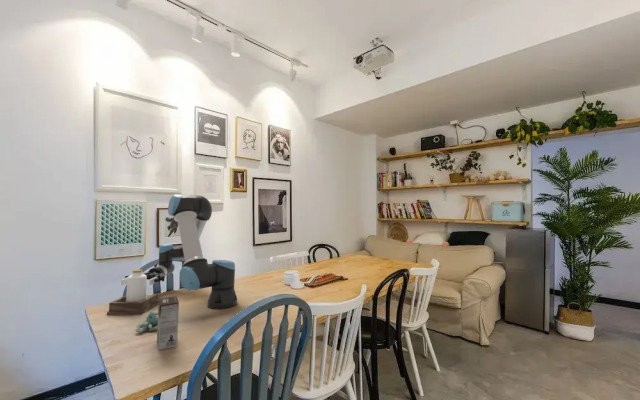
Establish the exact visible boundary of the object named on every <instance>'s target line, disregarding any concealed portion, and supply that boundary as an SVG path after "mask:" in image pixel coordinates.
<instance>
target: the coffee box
mask: <svg viewBox="0 0 640 400" xmlns="http://www.w3.org/2000/svg"><path fill="white" fill-rule="evenodd" d="M158 301H159V303H158V304H157V305H158V308H157V309H158V310H157V312H158V329H157V330H156V333H157V334H156V340H157V341H156V342H157V343H156V344H157V349H158V351H160V350H161V351H162V350H166V349H170V348H171V349H172V348H175V347H177V346H178V330H179V309H180V307H179V306H180V305H179V304H180V302H179V299H178V296H177V295H175V296H174V295H173V296H168V297H161V298H160V297H159V298H158Z"/></svg>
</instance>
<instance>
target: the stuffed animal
mask: <svg viewBox="0 0 640 400" xmlns="http://www.w3.org/2000/svg"><path fill="white" fill-rule="evenodd" d="M147 329H149V330H148V331H149V332H155V331H157V329H158V311H153V312H152V311H150V312H149V314H147V316H146V317H145V320H142V321H141V322H138V323H137V325H136V328H135V329H134V330H135V332H136V333H143V332H144V331H145V330H147Z"/></svg>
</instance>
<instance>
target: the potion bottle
mask: <svg viewBox="0 0 640 400" xmlns="http://www.w3.org/2000/svg"><path fill="white" fill-rule="evenodd" d="M142 273H143V269H133V270H132V274H130V276H129V275H128V276H129V277H128V278H127V284H126V294H125V295H126V302H142V301H143V300H145V299H147V298H146V297H147V282H148V281H147V276H146V275H145V274H142Z"/></svg>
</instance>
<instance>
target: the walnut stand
mask: <svg viewBox="0 0 640 400" xmlns="http://www.w3.org/2000/svg"><path fill="white" fill-rule="evenodd" d="M156 305H159V293H154V294H152V295H150V296H149V297H147V298H146V299H145V300H143V301H142V302H126V294H125V295H123V296H121V297H119V298H117V299H115V300H112V301H110V302H108V311H106V315H143V314H144V313H147V311H149V310H151V309H153V308H154V307H155V306H156Z"/></svg>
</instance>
